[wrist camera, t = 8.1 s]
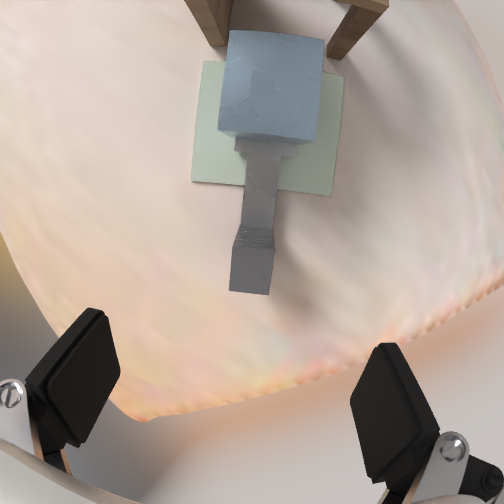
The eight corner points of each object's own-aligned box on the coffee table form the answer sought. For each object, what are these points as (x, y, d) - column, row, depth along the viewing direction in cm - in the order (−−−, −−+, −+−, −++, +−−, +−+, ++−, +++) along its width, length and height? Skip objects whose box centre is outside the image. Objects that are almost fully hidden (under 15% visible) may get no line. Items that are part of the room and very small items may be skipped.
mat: (204, 61, 18) (203, 60, 17) (343, 77, 17) (344, 76, 17) (191, 180, 21) (190, 180, 21) (330, 196, 21) (330, 196, 21)
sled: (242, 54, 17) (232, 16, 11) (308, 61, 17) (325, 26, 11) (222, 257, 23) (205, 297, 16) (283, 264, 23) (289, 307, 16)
